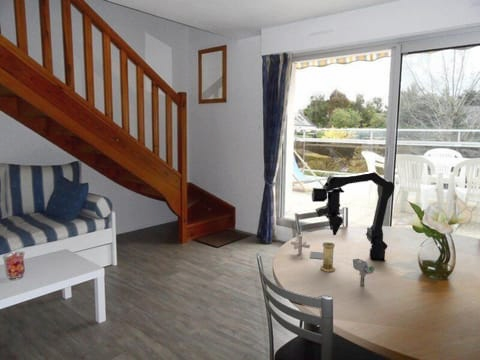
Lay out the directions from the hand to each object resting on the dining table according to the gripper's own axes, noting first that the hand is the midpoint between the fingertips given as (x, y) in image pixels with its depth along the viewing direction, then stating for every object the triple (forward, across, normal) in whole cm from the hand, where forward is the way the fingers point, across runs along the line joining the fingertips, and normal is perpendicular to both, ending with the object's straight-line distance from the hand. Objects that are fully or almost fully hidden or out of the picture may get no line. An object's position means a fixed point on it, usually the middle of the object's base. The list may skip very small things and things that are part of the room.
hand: (332, 232), depth 179 cm
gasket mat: (+13, -3, -6) cm, 15 cm away
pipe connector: (+13, -4, -16) cm, 21 cm away
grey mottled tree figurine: (+14, +30, +8) cm, 34 cm away
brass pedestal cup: (+13, +14, -4) cm, 20 cm away
